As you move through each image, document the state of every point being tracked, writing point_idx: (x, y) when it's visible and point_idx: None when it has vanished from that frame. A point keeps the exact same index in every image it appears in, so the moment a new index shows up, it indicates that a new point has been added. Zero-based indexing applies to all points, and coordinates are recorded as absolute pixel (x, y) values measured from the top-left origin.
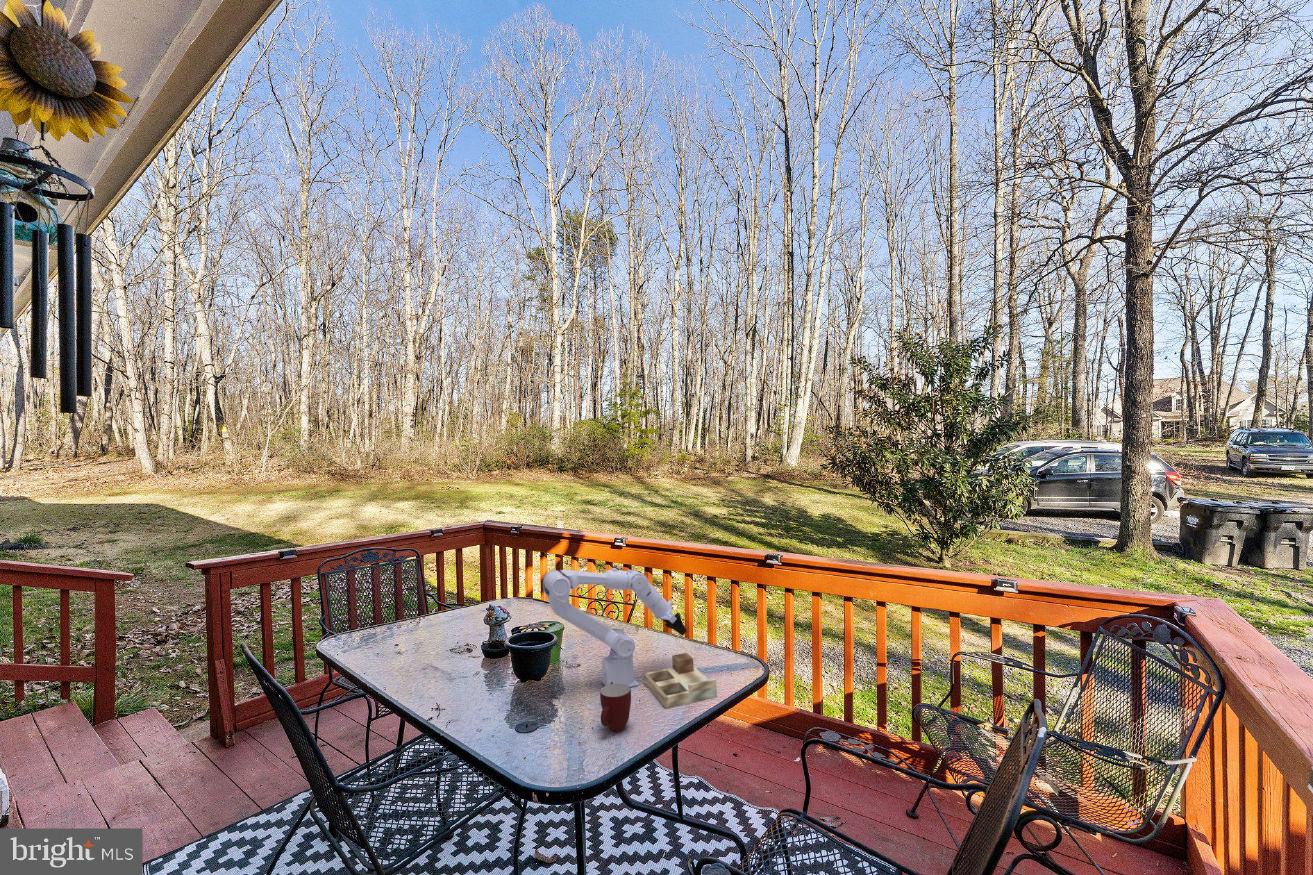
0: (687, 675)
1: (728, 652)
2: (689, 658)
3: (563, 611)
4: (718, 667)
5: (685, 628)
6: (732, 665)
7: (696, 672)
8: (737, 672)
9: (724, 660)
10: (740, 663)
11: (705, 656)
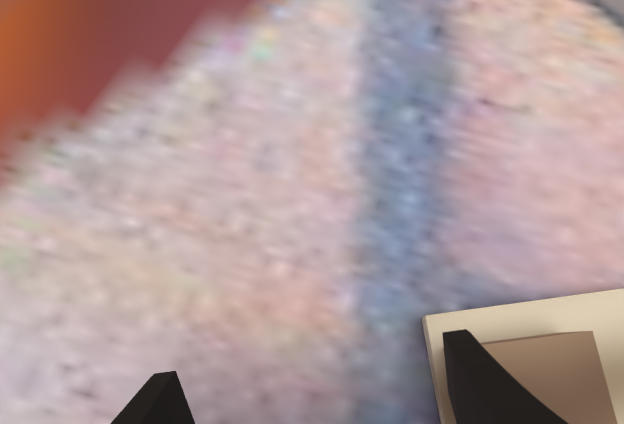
0: (621, 398)
1: (213, 46)
2: (588, 362)
3: None
4: (387, 146)
5: (486, 351)
6: (385, 70)
7: (583, 320)
8: (484, 70)
9: (306, 92)
10: (373, 27)
11: (216, 174)
